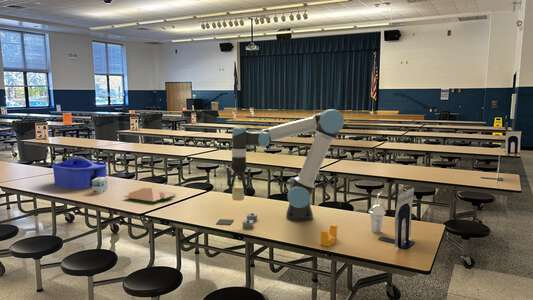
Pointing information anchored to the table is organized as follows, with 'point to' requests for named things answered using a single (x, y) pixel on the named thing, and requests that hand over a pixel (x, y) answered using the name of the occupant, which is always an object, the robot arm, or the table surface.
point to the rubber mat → (224, 222)
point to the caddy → (77, 172)
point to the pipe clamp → (329, 236)
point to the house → (150, 194)
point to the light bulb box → (99, 185)
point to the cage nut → (237, 193)
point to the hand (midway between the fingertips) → (238, 198)
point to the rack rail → (250, 221)
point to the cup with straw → (377, 216)
